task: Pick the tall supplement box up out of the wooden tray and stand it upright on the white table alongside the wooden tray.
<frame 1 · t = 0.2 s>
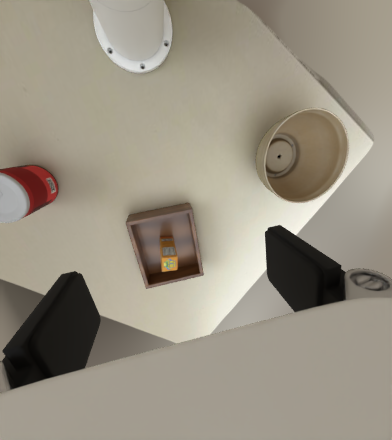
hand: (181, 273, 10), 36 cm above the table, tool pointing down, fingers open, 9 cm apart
canned food: (38, 184, 41), on the table
supplement box: (167, 241, 49), resting on wooden tray
wooden tray: (167, 241, 50), on the table
planter bowl: (275, 155, 47), on the table
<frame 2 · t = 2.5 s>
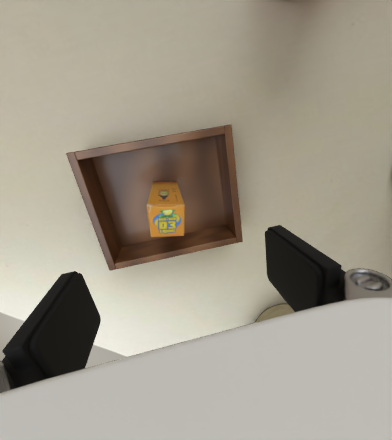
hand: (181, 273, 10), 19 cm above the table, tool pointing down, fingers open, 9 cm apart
supplement box: (165, 194, 27), resting on wooden tray
wooden tray: (165, 193, 28), on the table
planter bowl: (277, 322, 39), on the table
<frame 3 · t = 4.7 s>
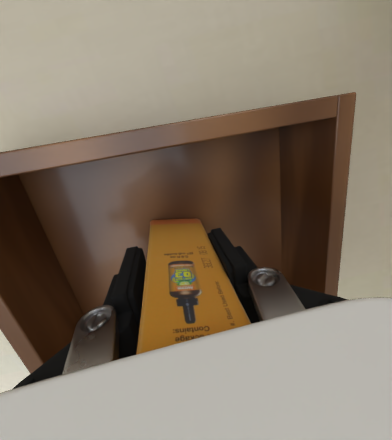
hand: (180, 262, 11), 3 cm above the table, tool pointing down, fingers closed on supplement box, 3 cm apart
supplement box: (176, 240, 14), resting on wooden tray, touching gripper
wooden tray: (176, 239, 14), on the table
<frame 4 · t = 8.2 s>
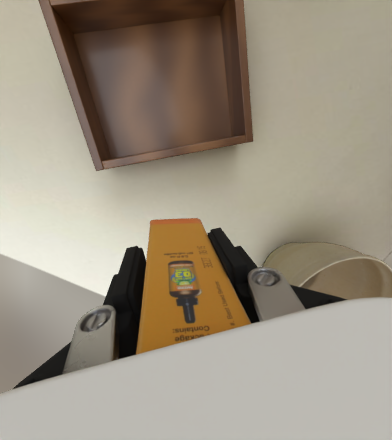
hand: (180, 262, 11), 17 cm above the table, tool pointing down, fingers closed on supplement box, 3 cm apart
supplement box: (176, 240, 14), point 14 cm above the table, touching gripper
wooden tray: (162, 92, 24), on the table
planter bowl: (287, 267, 35), on the table
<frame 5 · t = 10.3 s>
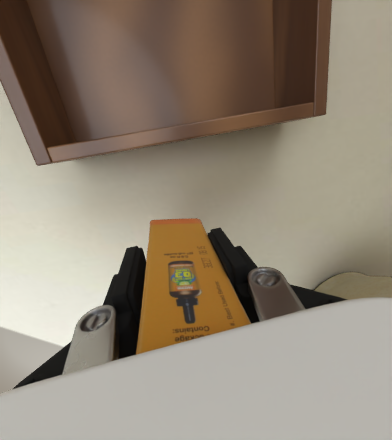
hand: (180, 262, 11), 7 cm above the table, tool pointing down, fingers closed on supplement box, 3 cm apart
supplement box: (176, 240, 14), point 4 cm above the table, touching gripper
wooden tray: (163, 32, 14), on the table
planter bowl: (335, 303, 25), on the table
when the fingers open (3 cm above the table, at t = 11.7 s): supplement box stays where it is, on the table.
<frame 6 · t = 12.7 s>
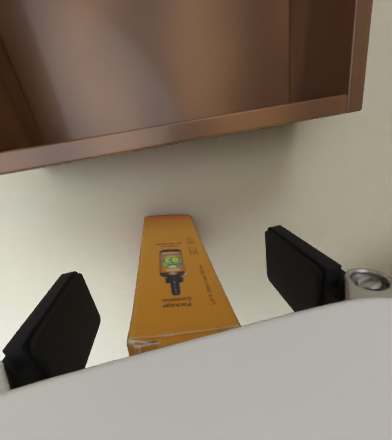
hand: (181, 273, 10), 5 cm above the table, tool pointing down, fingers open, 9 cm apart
supplement box: (168, 235, 15), on the table
wooden tray: (153, 8, 11), on the table
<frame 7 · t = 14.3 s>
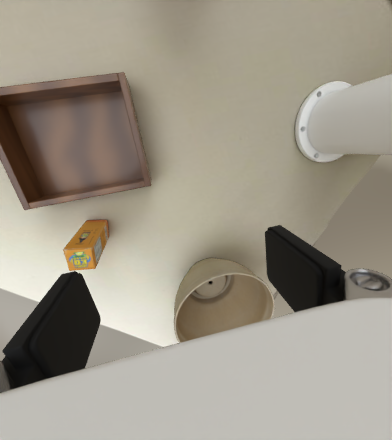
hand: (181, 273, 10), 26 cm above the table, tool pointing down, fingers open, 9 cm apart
supplement box: (99, 228, 35), on the table
wooden tray: (83, 145, 30), on the table
planter bowl: (208, 277, 42), on the table
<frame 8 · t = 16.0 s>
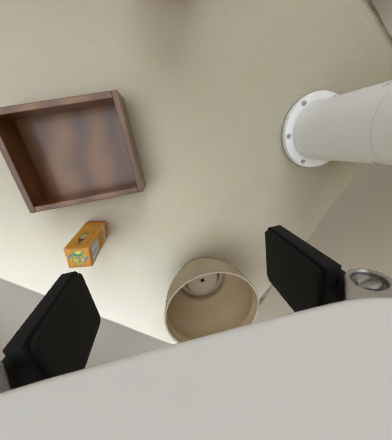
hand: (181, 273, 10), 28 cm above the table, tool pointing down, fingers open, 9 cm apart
supplement box: (98, 229, 38), on the table
wooden tray: (83, 153, 33), on the table
planter bowl: (201, 275, 45), on the table
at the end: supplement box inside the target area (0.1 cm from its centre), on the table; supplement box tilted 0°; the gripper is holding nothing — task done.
